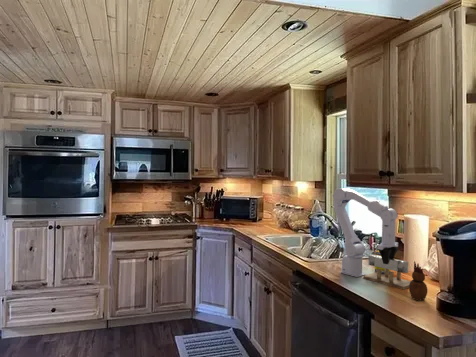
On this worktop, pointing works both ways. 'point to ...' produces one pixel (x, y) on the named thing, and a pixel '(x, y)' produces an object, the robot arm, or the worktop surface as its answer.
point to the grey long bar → (389, 264)
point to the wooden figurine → (418, 284)
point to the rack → (388, 279)
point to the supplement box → (379, 267)
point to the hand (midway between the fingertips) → (387, 263)
